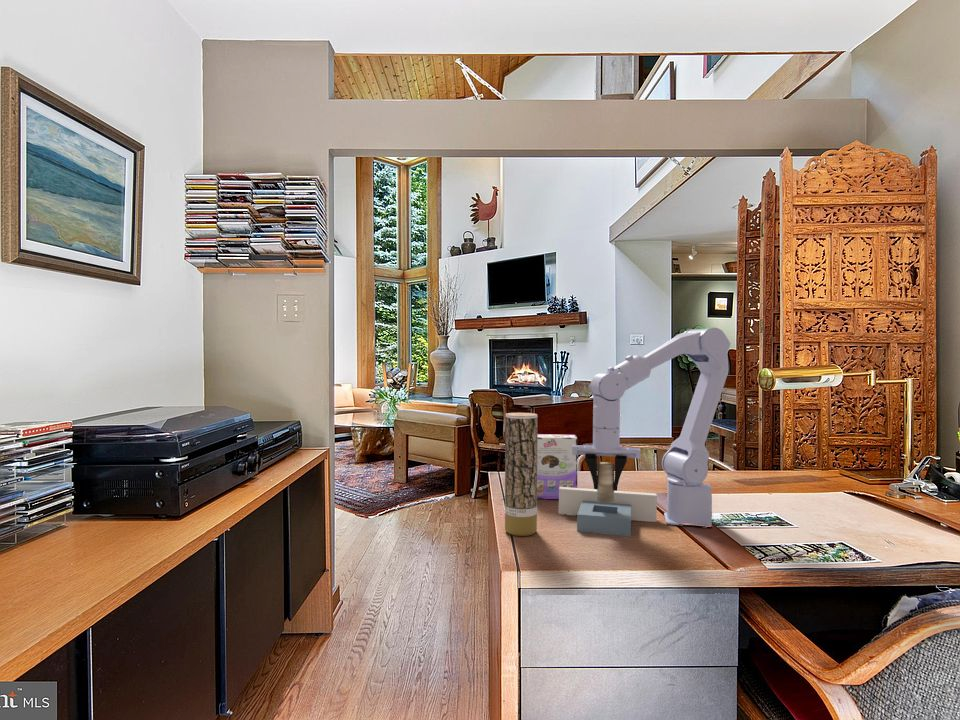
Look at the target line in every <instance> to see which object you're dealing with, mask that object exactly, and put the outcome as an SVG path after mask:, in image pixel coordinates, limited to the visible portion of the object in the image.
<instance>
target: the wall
mask: <svg viewBox="0 0 960 720" xmlns="http://www.w3.org/2000/svg"><path fill="white" fill-rule="evenodd" d="M657 498H658V496H657V493H656V492H655V493H652V492H641V491H640V492H639V491H637V492H636V491H628V490H627V491H625V490H624V491H623V490H617V491H614V501H613V502H604V503H616V504H628V505H631V521H639V522H648V523H649V522H650V523H657V516H658V515H657V509H658V507H657V506H658V505H657V502H658V500H657ZM582 501H592V502H601V501H598V500H597V489H594V488H584V487H583V488H582V487H577V488H571V487H560V488H559V500H558V515H564V514H567V516H576V515H577V514H578V511H579V508H580V506H581V503H582Z"/></svg>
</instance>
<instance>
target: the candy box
mask: <svg viewBox="0 0 960 720" xmlns="http://www.w3.org/2000/svg"><path fill="white" fill-rule="evenodd" d="M573 445H578V437H577V435H576V434H555V433H554V434H546V433H545V434H543V433H542V434H541V433H538V439H537V500H546V499H559V488H560V487H571V488H578V455H572V447H573Z"/></svg>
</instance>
